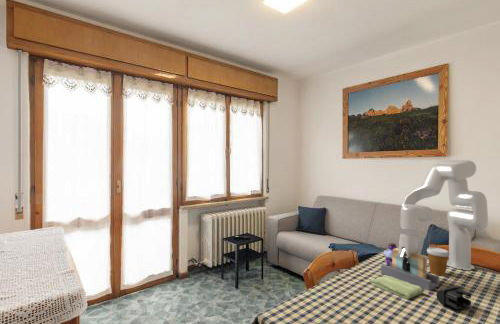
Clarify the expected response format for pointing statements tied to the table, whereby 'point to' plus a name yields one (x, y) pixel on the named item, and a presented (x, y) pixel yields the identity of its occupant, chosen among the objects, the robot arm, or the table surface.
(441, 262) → the disposable coffee cup
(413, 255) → the wooden picture frame
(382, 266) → the picture stand
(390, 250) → the potion bottle
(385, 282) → the washcloth
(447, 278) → the table surface
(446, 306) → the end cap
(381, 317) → the table surface
